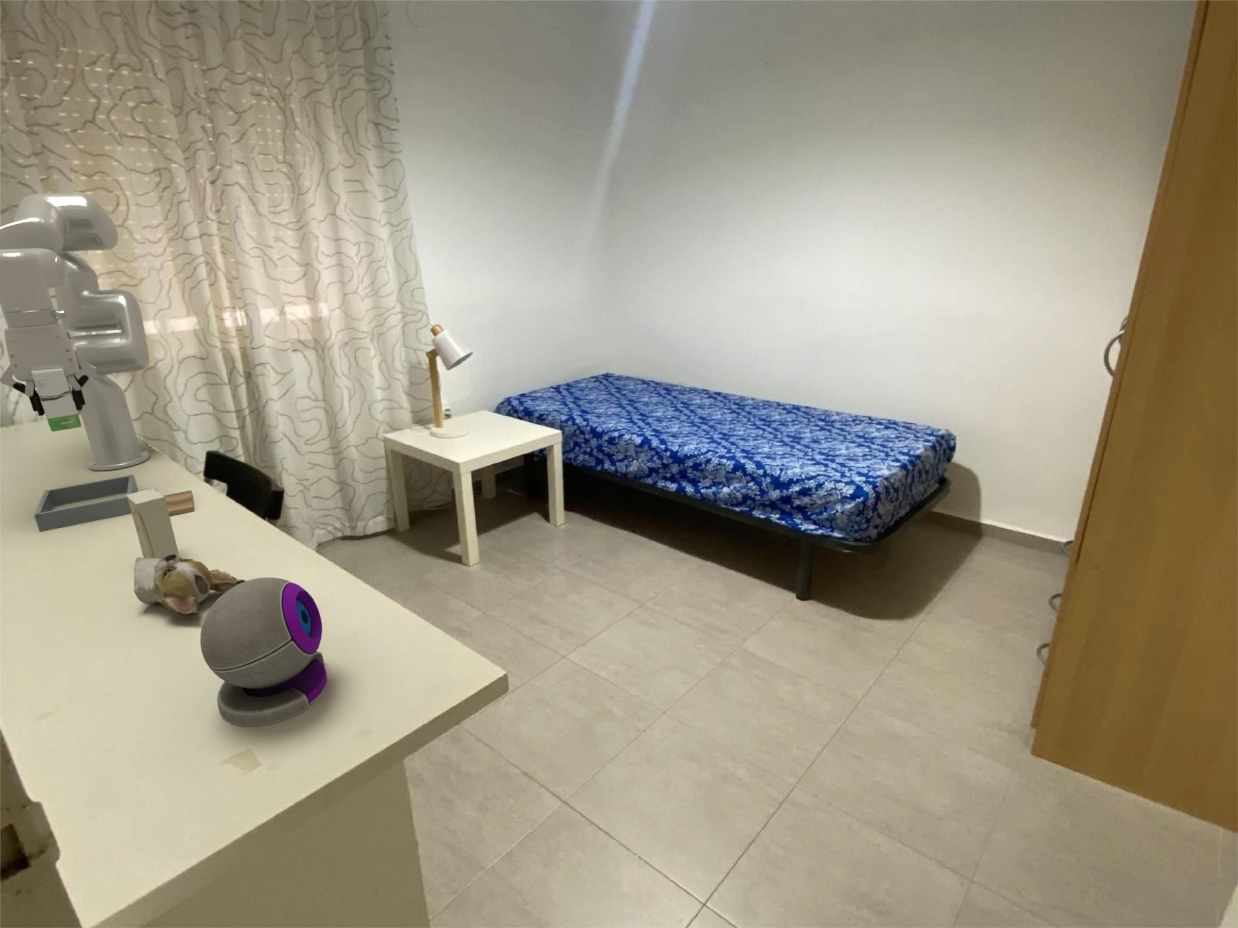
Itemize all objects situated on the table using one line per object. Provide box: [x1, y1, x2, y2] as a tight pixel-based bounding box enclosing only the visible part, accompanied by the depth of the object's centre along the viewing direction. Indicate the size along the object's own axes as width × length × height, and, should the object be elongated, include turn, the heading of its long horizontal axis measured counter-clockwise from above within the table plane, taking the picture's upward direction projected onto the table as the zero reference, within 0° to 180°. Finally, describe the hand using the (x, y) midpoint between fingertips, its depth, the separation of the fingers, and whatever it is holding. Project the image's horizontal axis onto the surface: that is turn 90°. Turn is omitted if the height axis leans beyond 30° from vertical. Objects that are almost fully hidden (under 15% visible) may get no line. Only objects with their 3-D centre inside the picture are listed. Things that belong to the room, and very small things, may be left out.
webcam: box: [200, 577, 328, 727], centre depth 82 cm, size 13×13×15 cm
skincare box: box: [126, 487, 180, 559], centre depth 118 cm, size 6×4×12 cm
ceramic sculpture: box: [133, 554, 247, 618], centre depth 104 cm, size 11×9×15 cm
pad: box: [163, 489, 195, 517], centre depth 142 cm, size 11×9×1 cm
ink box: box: [31, 369, 82, 432], centre depth 134 cm, size 9×5×12 cm, turn 39°
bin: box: [33, 474, 139, 532], centre depth 142 cm, size 16×16×4 cm
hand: (61, 410), depth 135 cm, fingers closed on ink box, 5 cm apart
